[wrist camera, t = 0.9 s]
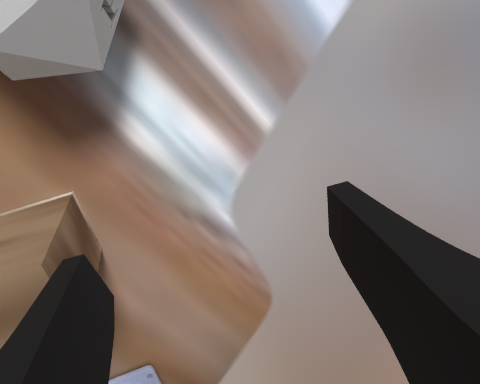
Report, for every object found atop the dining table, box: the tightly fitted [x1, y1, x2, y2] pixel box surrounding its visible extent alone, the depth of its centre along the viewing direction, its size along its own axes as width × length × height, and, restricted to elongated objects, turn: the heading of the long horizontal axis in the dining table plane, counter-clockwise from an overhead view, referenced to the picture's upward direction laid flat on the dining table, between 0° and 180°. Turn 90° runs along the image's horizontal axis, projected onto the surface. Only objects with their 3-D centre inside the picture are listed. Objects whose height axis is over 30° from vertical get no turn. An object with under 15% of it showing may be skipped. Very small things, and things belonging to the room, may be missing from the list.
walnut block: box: [0, 192, 102, 349], centre depth 21 cm, size 5×5×9 cm
